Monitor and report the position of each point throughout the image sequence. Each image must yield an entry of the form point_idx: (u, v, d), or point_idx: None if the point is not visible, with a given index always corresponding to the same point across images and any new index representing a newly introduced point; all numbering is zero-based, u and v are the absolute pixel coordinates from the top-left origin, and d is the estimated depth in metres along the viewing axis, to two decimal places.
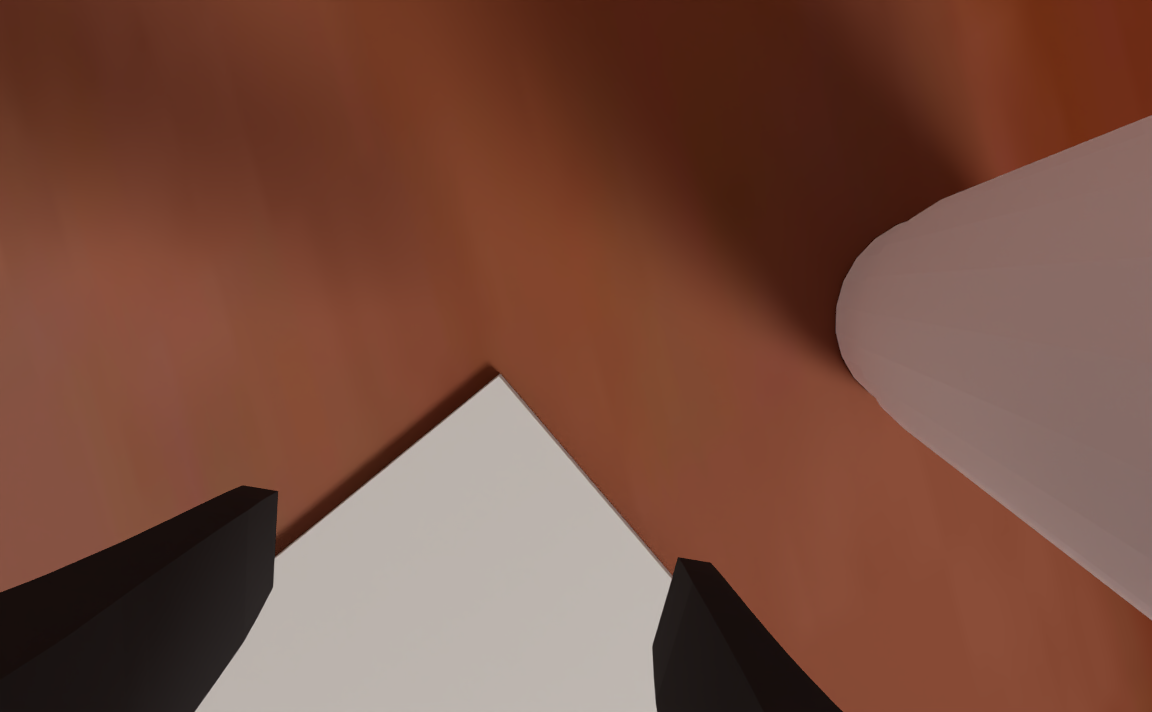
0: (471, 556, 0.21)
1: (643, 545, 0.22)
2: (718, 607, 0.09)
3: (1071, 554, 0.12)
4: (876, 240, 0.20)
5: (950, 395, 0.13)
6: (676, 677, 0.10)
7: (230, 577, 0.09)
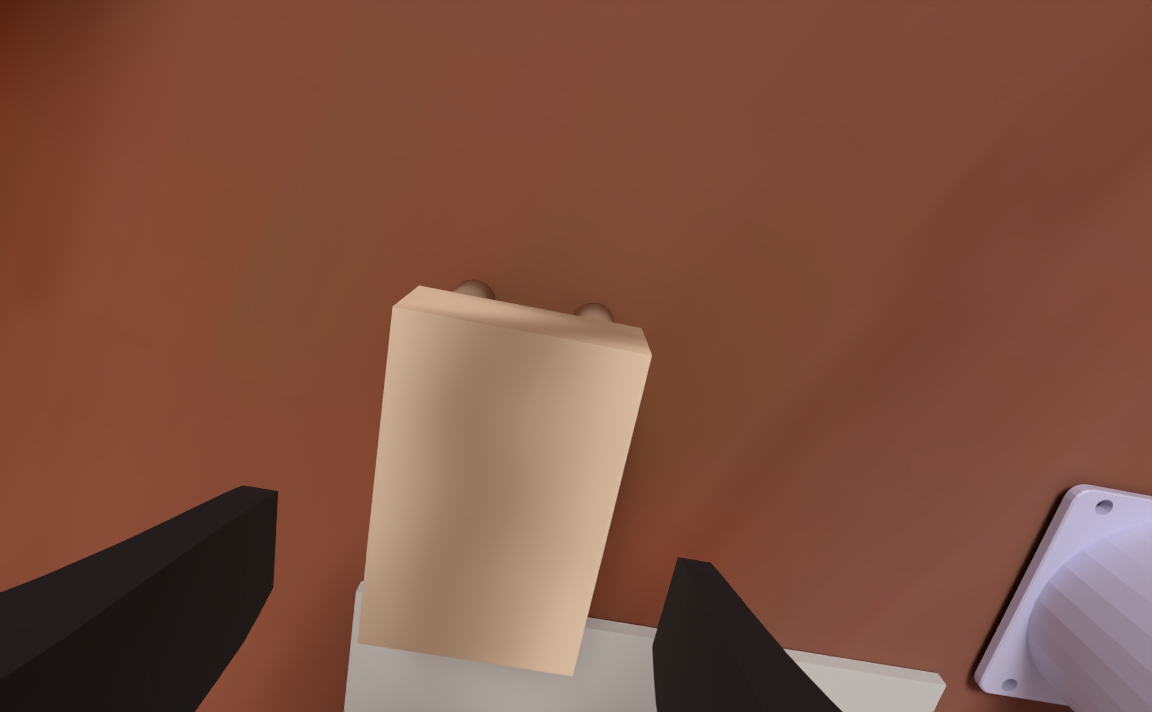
0: None
1: None
2: (718, 607, 0.09)
3: None
4: None
5: None
6: (676, 677, 0.10)
7: (230, 577, 0.09)
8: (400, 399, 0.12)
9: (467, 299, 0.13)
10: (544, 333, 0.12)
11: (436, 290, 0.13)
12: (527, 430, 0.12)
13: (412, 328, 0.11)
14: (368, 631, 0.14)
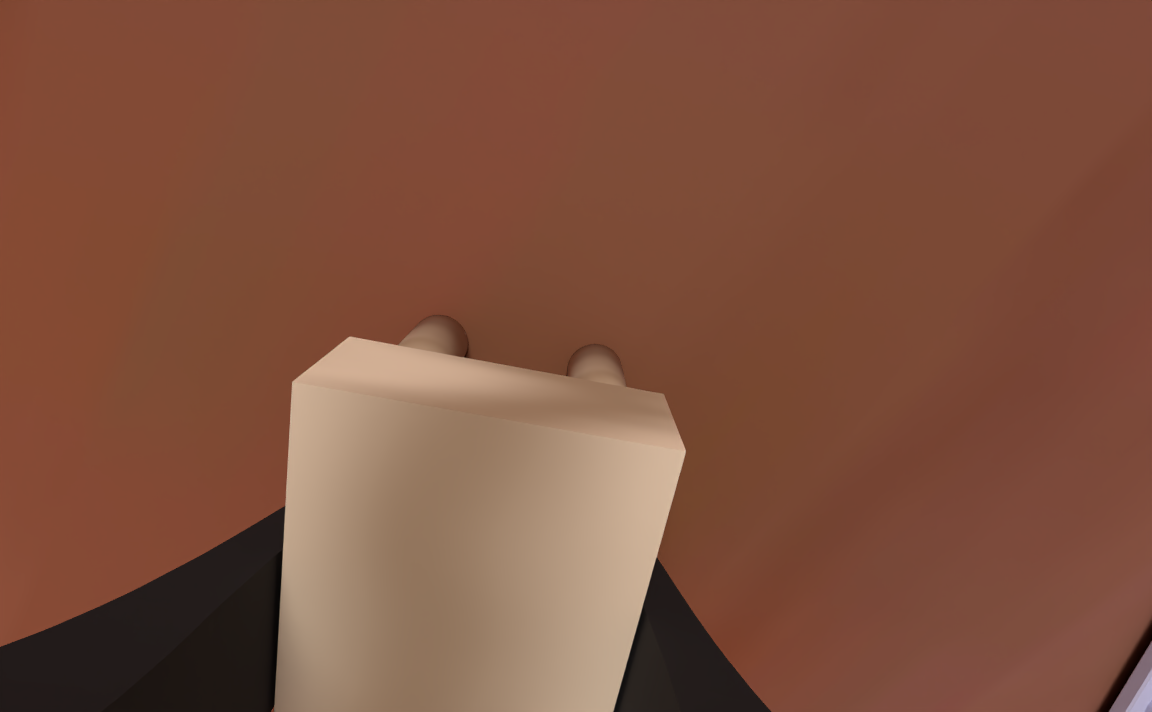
0: None
1: None
2: (651, 596, 0.09)
3: None
4: None
5: None
6: None
7: None
8: (311, 514, 0.08)
9: (415, 358, 0.09)
10: (524, 419, 0.08)
11: (373, 343, 0.09)
12: (500, 556, 0.08)
13: (324, 413, 0.08)
14: None
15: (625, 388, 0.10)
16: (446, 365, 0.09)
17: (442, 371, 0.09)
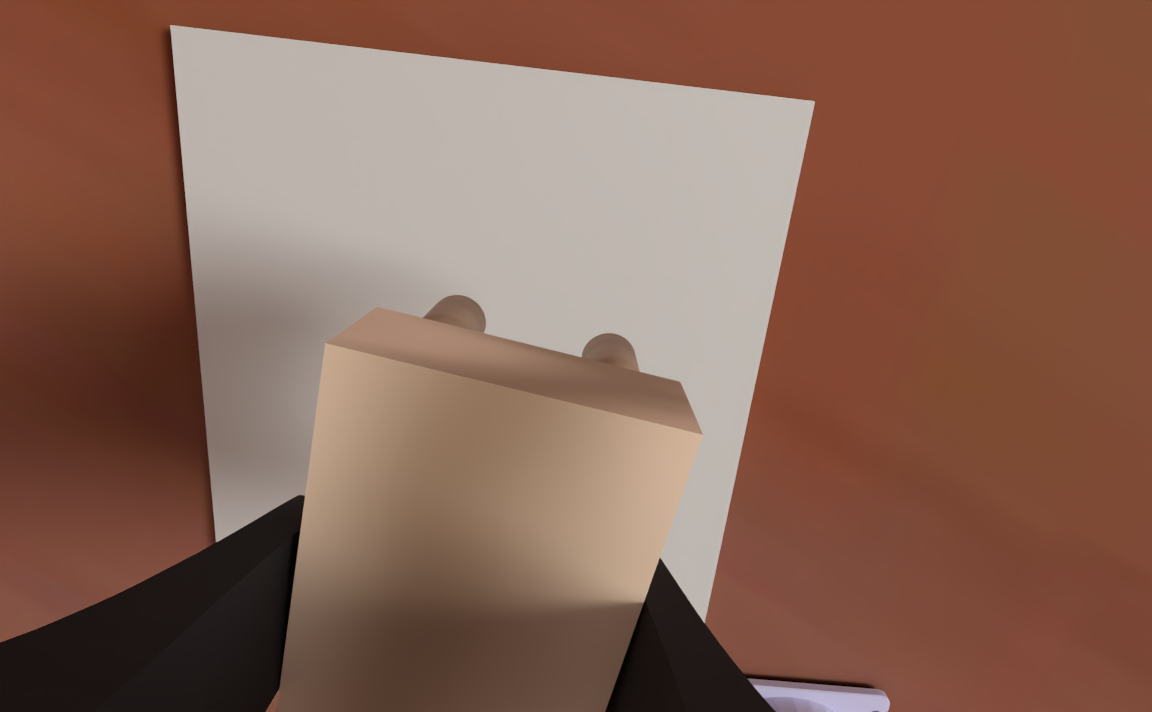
0: (333, 224, 0.18)
1: (464, 60, 0.17)
2: (655, 597, 0.09)
3: None
4: None
5: None
6: None
7: None
8: (333, 475, 0.08)
9: (441, 331, 0.09)
10: (547, 394, 0.08)
11: (400, 315, 0.09)
12: (515, 527, 0.08)
13: (353, 376, 0.08)
14: None
15: (643, 373, 0.10)
16: (471, 339, 0.09)
17: (467, 344, 0.09)
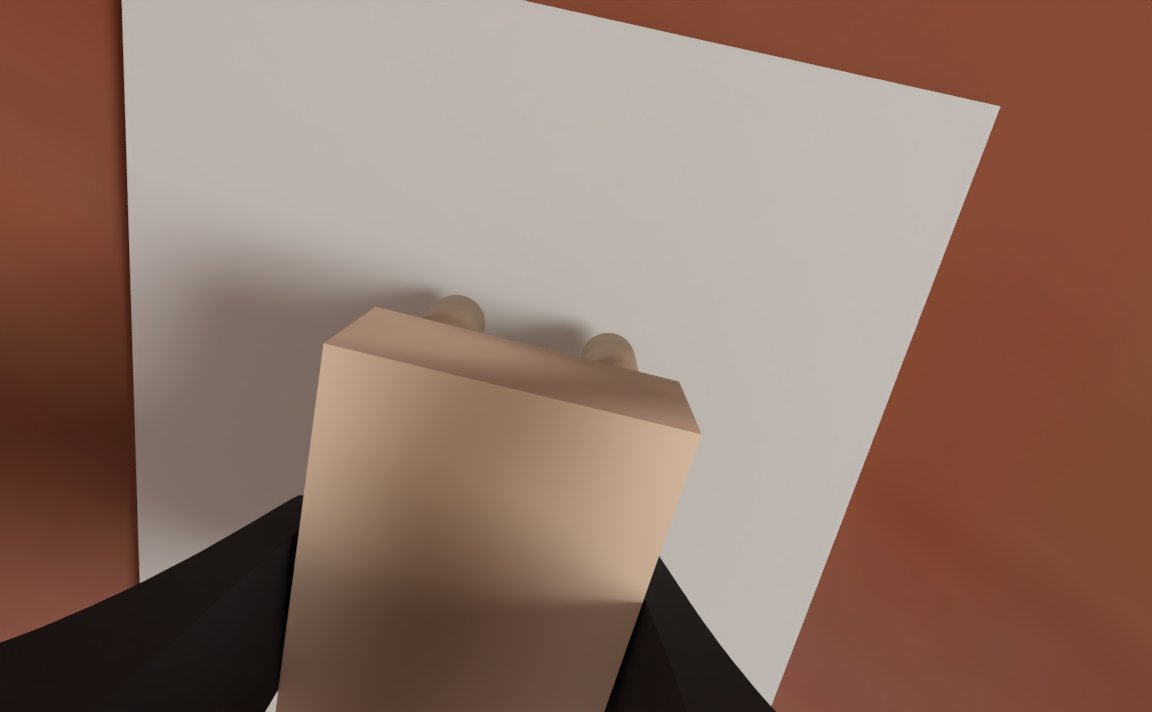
0: (329, 214, 0.13)
1: (532, 4, 0.12)
2: (655, 597, 0.09)
3: None
4: None
5: None
6: None
7: None
8: (332, 475, 0.08)
9: (440, 331, 0.09)
10: (546, 394, 0.08)
11: (399, 315, 0.09)
12: (513, 527, 0.08)
13: (352, 376, 0.08)
14: None
15: (642, 373, 0.10)
16: (469, 339, 0.09)
17: (466, 345, 0.09)
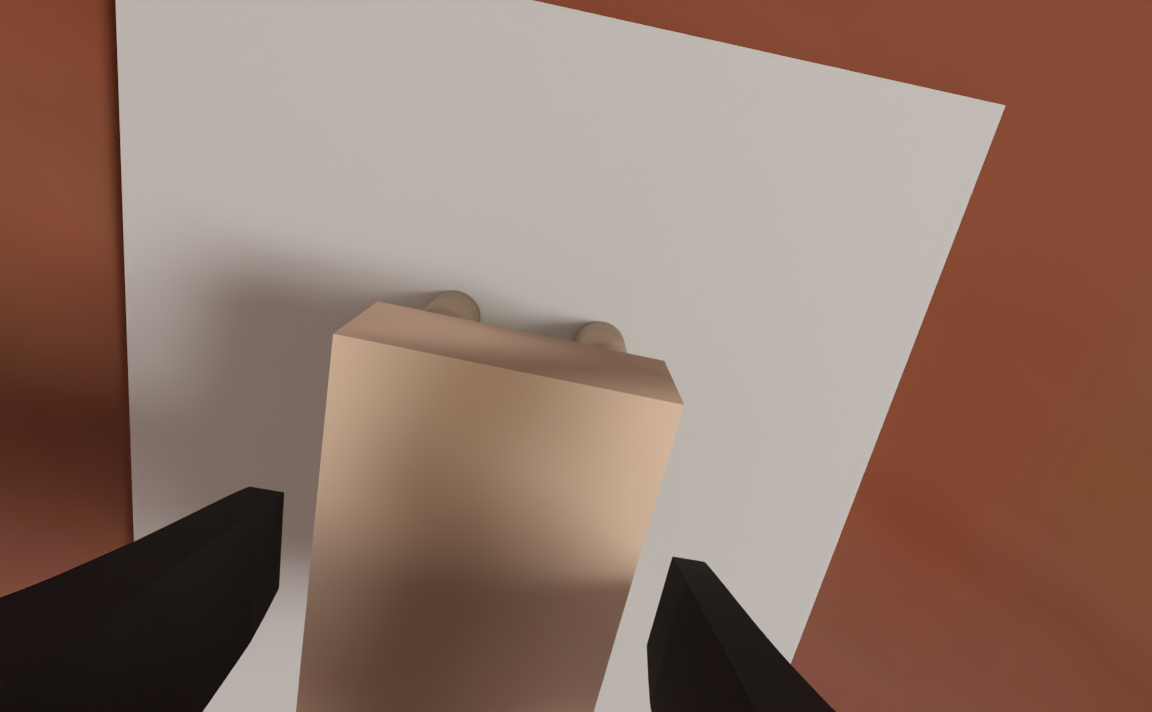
0: (326, 214, 0.13)
1: (531, 2, 0.12)
2: (711, 606, 0.09)
3: None
4: None
5: None
6: (670, 676, 0.10)
7: (238, 578, 0.09)
8: (344, 456, 0.09)
9: (439, 321, 0.10)
10: (540, 373, 0.09)
11: (400, 308, 0.10)
12: (514, 499, 0.09)
13: (360, 363, 0.08)
14: None
15: (629, 354, 0.10)
16: (467, 328, 0.10)
17: (464, 332, 0.10)
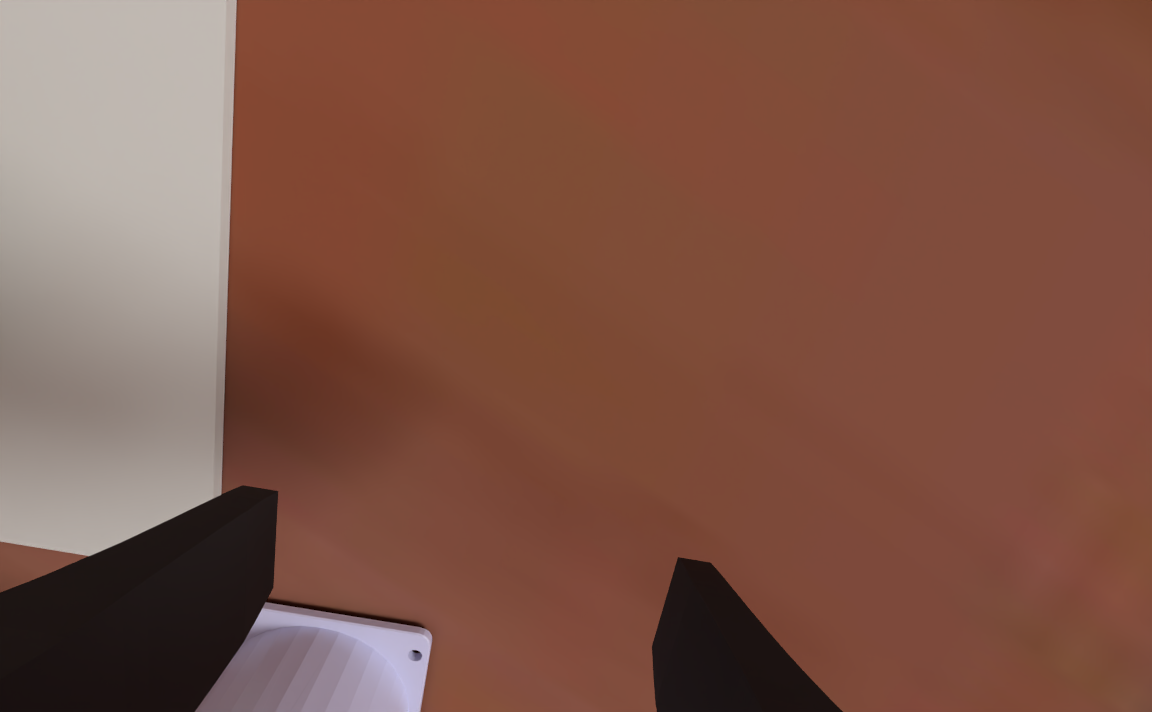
0: None
1: None
2: (718, 607, 0.09)
3: None
4: None
5: None
6: (676, 677, 0.10)
7: (230, 577, 0.09)
8: None
9: None
10: None
11: None
12: None
13: None
14: None
15: None
16: None
17: None
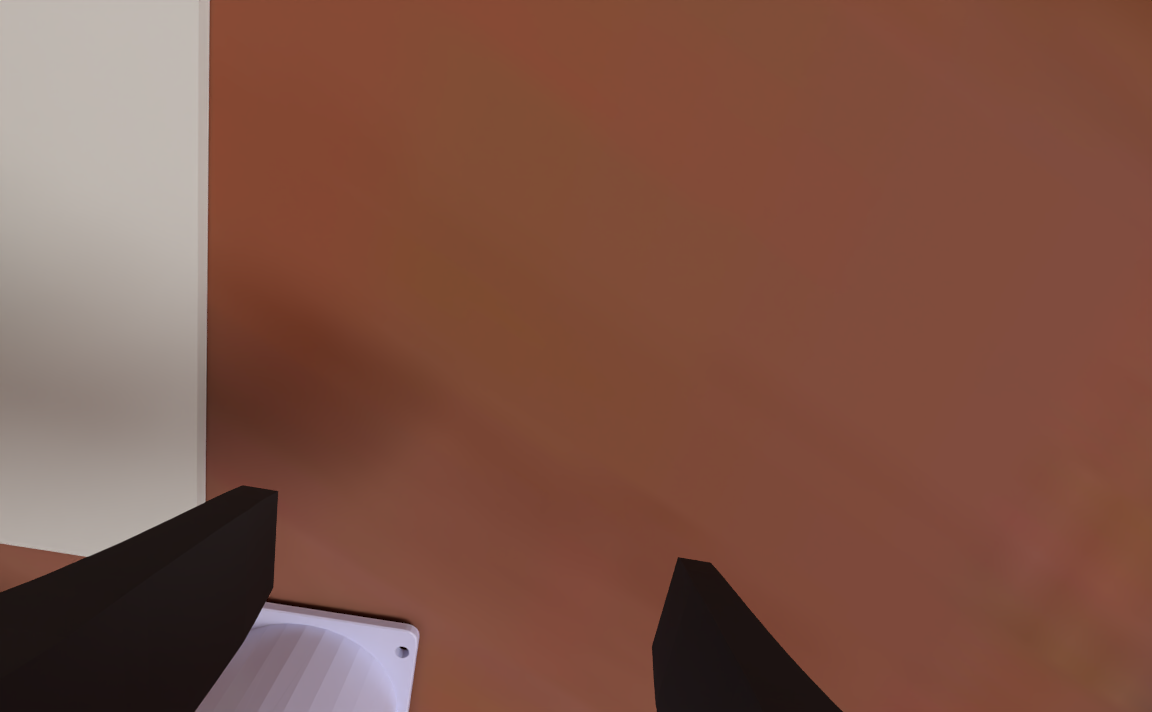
0: None
1: None
2: (718, 607, 0.09)
3: None
4: None
5: None
6: (676, 677, 0.10)
7: (230, 578, 0.09)
8: None
9: None
10: None
11: None
12: None
13: None
14: None
15: None
16: None
17: None
